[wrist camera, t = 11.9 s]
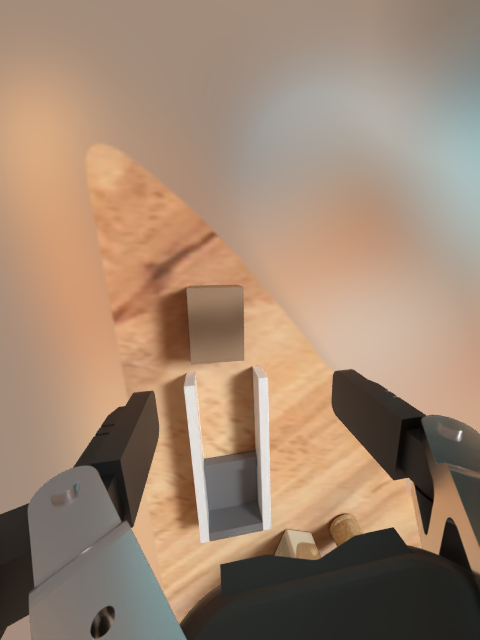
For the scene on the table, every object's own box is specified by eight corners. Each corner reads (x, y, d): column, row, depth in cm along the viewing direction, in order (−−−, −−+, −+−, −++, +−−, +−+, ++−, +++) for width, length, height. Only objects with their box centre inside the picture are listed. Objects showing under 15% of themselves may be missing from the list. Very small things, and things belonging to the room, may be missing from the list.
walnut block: (238, 347, 26) (244, 360, 22) (193, 349, 25) (191, 364, 21) (237, 284, 24) (243, 287, 20) (189, 285, 23) (186, 288, 20)
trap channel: (264, 504, 31) (271, 528, 28) (201, 516, 29) (201, 543, 27) (261, 365, 26) (267, 377, 23) (186, 373, 25) (183, 386, 22)
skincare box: (295, 563, 34) (344, 720, 22) (269, 561, 33) (305, 723, 21) (312, 530, 33) (372, 675, 21) (286, 526, 32) (333, 676, 20)
